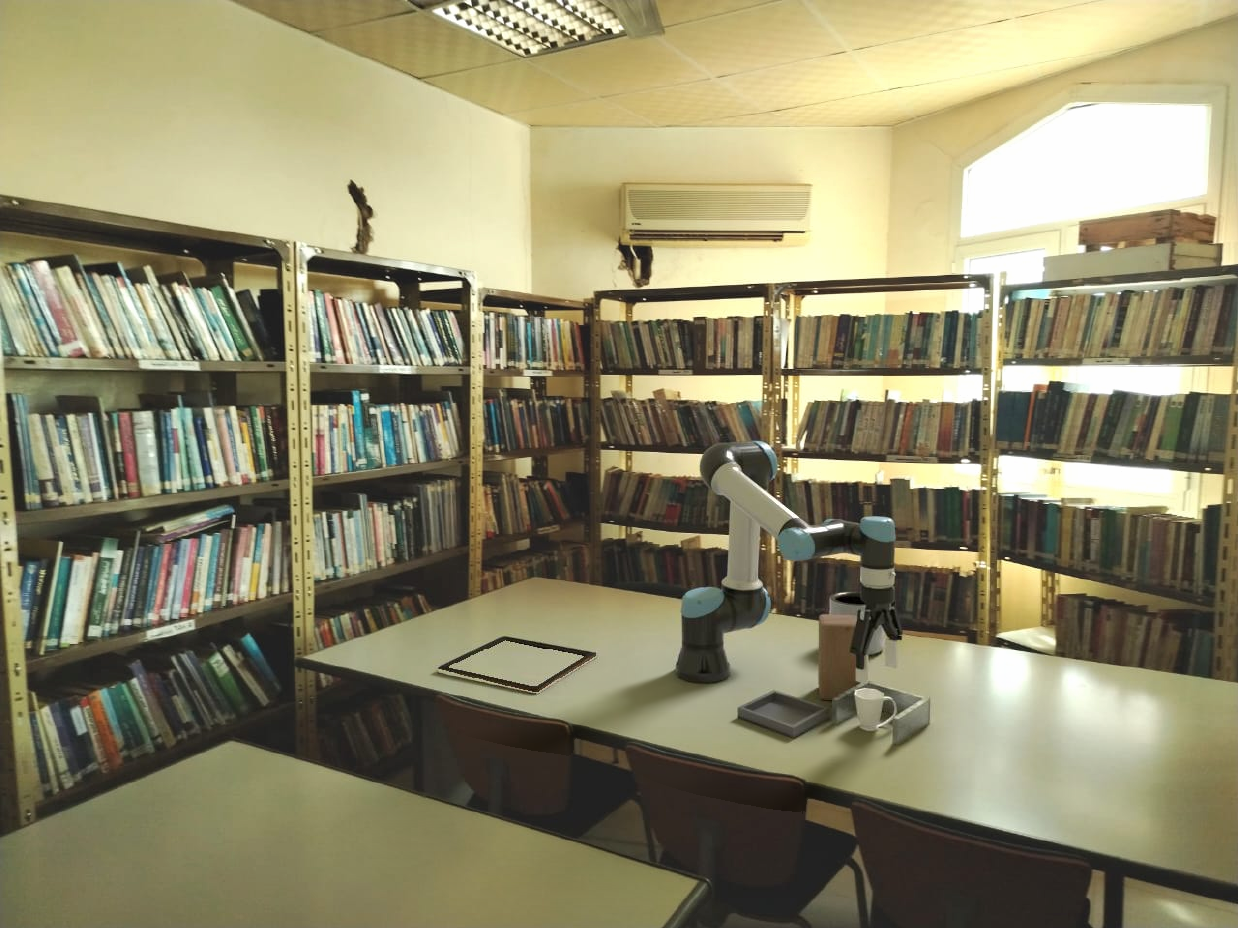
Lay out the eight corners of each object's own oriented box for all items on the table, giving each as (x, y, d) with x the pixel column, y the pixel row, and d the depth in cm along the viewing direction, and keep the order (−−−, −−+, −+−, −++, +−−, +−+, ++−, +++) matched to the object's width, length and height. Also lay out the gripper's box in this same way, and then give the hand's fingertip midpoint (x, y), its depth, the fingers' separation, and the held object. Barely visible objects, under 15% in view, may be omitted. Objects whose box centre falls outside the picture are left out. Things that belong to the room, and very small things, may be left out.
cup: (849, 720, 185) (849, 688, 184) (890, 719, 185) (890, 686, 185) (859, 734, 178) (859, 700, 177) (902, 732, 178) (902, 698, 178)
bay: (831, 722, 184) (832, 698, 184) (866, 703, 195) (866, 680, 194) (897, 745, 172) (897, 719, 172) (929, 722, 183) (930, 698, 183)
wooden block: (861, 703, 195) (862, 626, 193) (820, 700, 197) (820, 624, 195) (857, 688, 205) (858, 614, 203) (818, 685, 207) (818, 612, 205)
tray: (737, 717, 188) (737, 707, 188) (773, 699, 198) (774, 689, 198) (793, 738, 176) (793, 727, 176) (829, 718, 187) (829, 707, 186)
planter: (895, 649, 234) (896, 599, 232) (860, 661, 225) (861, 608, 223) (852, 636, 247) (852, 588, 245) (817, 646, 238) (818, 596, 236)
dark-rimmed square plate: (428, 679, 217) (427, 669, 217) (493, 641, 250) (493, 633, 250) (549, 699, 203) (549, 688, 203) (602, 656, 236) (602, 647, 235)
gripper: (864, 597, 167) (864, 693, 169) (918, 577, 184) (917, 664, 186) (833, 592, 173) (833, 684, 174) (888, 572, 190) (887, 656, 192)
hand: (876, 674), depth 180 cm, fingers open, 13 cm apart
